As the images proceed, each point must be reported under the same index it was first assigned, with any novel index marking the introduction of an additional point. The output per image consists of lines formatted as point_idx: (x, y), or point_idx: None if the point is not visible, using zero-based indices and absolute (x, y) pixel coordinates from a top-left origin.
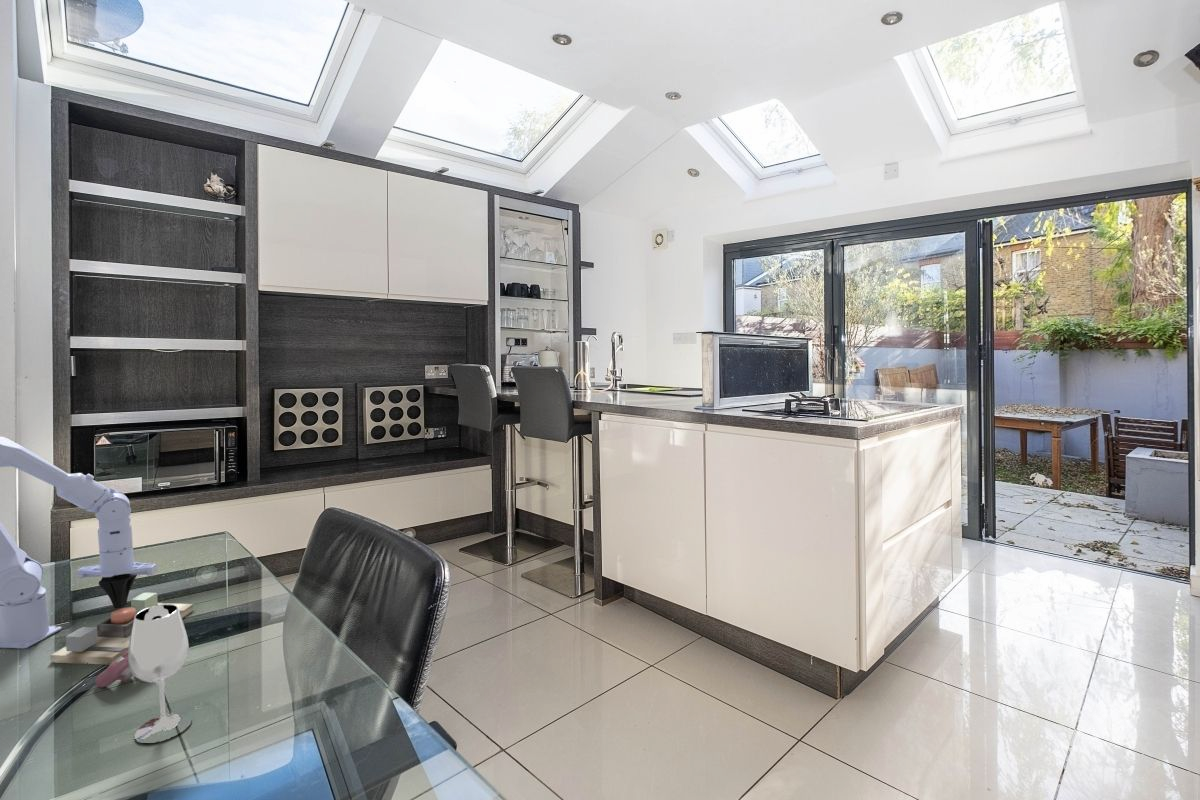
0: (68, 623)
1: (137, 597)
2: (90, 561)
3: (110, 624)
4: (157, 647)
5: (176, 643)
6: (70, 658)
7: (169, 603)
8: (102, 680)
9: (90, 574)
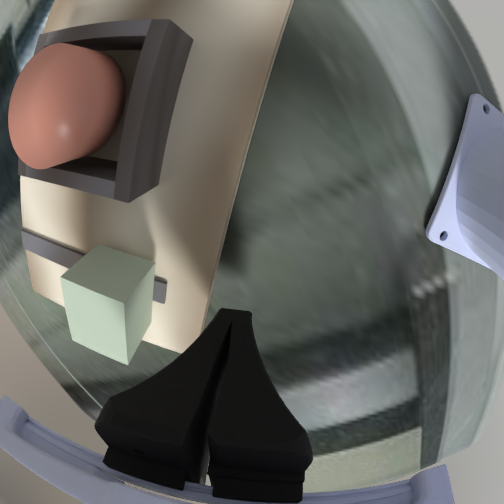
0: (414, 281)
1: (113, 322)
2: (397, 474)
3: (100, 33)
4: None
5: None
6: None
7: None
8: None
9: (383, 499)
